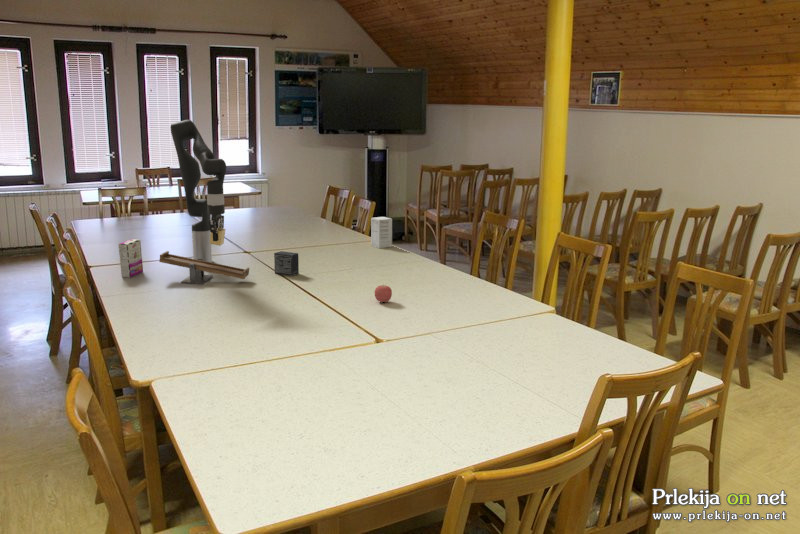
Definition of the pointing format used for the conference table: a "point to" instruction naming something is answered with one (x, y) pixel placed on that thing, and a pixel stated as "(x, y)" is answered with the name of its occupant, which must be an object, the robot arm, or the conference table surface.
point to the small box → (286, 263)
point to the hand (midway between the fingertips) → (217, 239)
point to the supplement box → (381, 232)
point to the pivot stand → (196, 276)
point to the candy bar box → (130, 258)
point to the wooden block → (220, 237)
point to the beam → (204, 265)
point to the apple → (383, 293)
